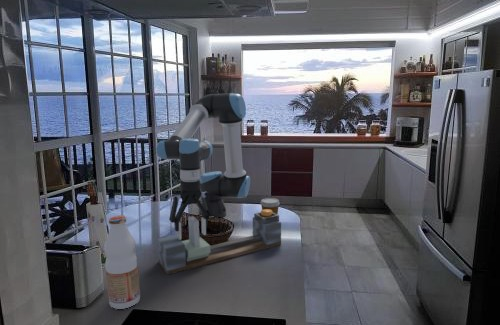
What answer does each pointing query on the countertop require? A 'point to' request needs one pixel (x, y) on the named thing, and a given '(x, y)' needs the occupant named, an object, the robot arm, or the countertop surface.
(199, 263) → the rail bench
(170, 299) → the countertop surface
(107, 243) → the fruit juice
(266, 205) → the disposable coffee cup
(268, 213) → the button
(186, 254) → the block
